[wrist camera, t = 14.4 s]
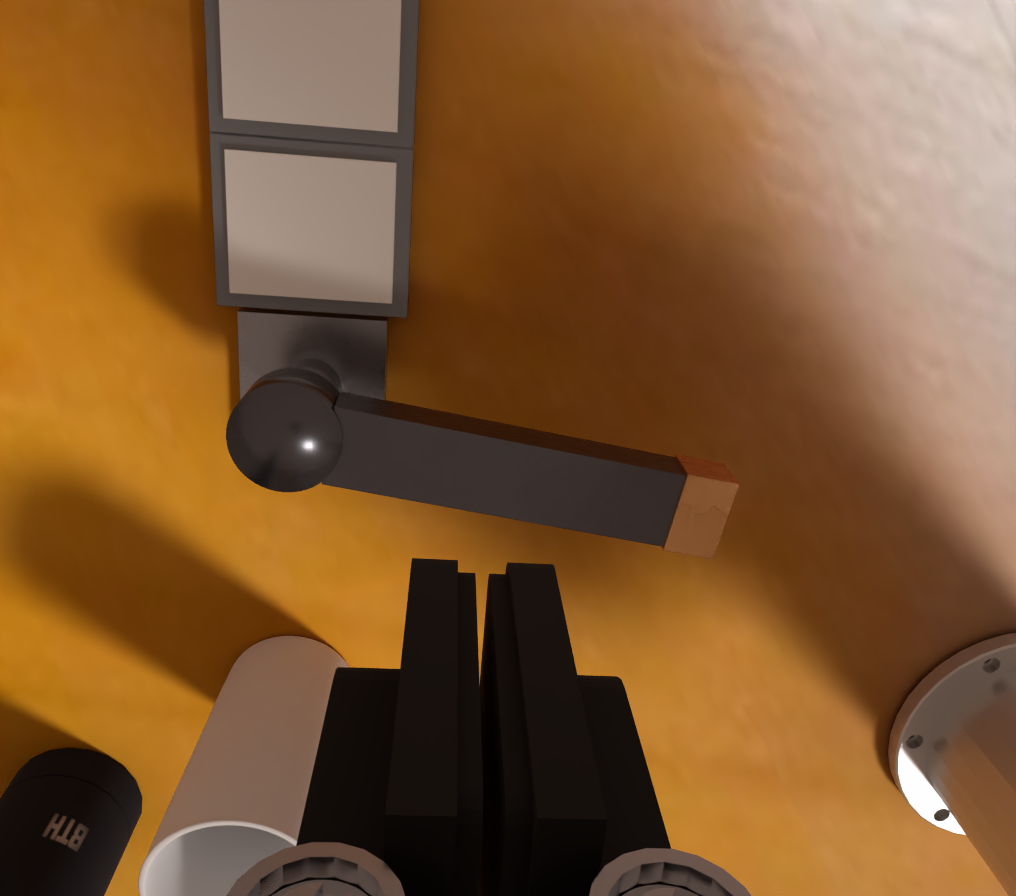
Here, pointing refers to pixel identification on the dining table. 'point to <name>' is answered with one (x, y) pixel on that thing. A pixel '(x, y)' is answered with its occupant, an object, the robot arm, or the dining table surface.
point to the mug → (245, 771)
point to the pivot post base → (315, 348)
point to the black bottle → (66, 824)
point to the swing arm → (474, 465)
